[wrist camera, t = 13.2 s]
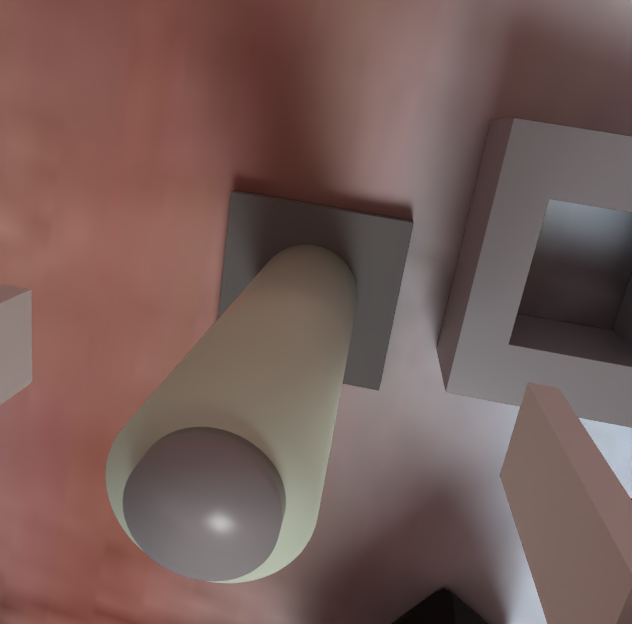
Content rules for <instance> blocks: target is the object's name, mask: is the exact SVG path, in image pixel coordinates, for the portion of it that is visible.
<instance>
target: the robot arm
mask: <svg viewBox="0 0 632 624" xmlns="http://www.w3.org/2000/svg"><path fill="white" fill-rule="evenodd" d="M30 383H32V309H31V289H27V288H22V287H16V286H11V285H6V284H3V285H1V286H0V405H1V404H2V403H4V402H5V401H7V400H8V399H9V398H11V397H12V396H14V395H15V394H16V393H18V392H19V391H21V390H22V389H23V388H25V387H26V386H28V385H29V384H30ZM500 477H501V480H502V483H503V486H504V489H505V492H506V496H507V499H508V502H509V505H510V508H511V511H512V514H513V517H514V521H515V524H516V527H517V530H518V533H519V536H520V539H521V542H522V546H523V549H524V552H525V555H526V558H527V561H528V564H529V567H530V571H531V574H532V577H533V580H534V583H535V586H536V589H537V592H538V596H539V599H540V602H541V605H542V608H543V611H544V614H545V617H546V621H547V624H632V499H631V498H630V497H629V495H628V494H627V492H626V491H625V489H624V488H623V486H622V485H621V483H620V481H619V480H618V478H617V477H616V475H615V474H614V472H613V471H612V469H611V468H610V466H609V465H608V463H607V462H606V460H605V458H604V457H603V455H602V454H601V452H600V451H599V449H598V448H597V446H596V445H595V443H594V442H593V440H592V439H591V437H590V435H589V434H588V432H587V431H586V429H585V428H584V426H583V425H582V423H581V422H580V420H579V419H578V417H577V415H576V414H575V412H574V411H573V409H572V408H571V406H570V405H569V403H568V402H567V400H566V399H565V397H564V396H563V394H562V392H561V391H560V389H559V388H556V387H551V386H546V385H540V384H535V383H529V382H528V383H527V386H526V390H525V393H524V396H523V400H522V403H521V406H520V410H519V413H518V416H517V420H516V423H515V426H514V430H513V433H512V436H511V440H510V443H509V446H508V450H507V453H506V456H505V460H504V463H503V467H502V470H501V473H500Z"/></svg>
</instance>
